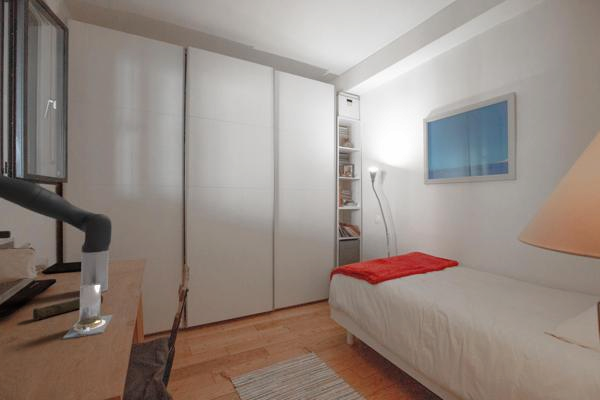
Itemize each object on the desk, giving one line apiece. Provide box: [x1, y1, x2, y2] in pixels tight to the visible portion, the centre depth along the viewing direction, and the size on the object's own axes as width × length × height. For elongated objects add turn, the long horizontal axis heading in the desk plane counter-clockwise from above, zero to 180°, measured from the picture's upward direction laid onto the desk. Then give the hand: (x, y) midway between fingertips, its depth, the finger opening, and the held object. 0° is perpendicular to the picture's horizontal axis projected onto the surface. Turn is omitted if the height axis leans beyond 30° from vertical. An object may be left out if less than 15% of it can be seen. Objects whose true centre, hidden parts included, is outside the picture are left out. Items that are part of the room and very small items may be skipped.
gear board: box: [62, 314, 114, 340], centre depth 80 cm, size 13×9×2 cm
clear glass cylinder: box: [77, 283, 102, 329], centre depth 81 cm, size 6×6×12 cm
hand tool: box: [32, 294, 104, 322], centre depth 92 cm, size 19×4×5 cm, turn 145°
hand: (1, 236), depth 76 cm, fingers open, 8 cm apart
